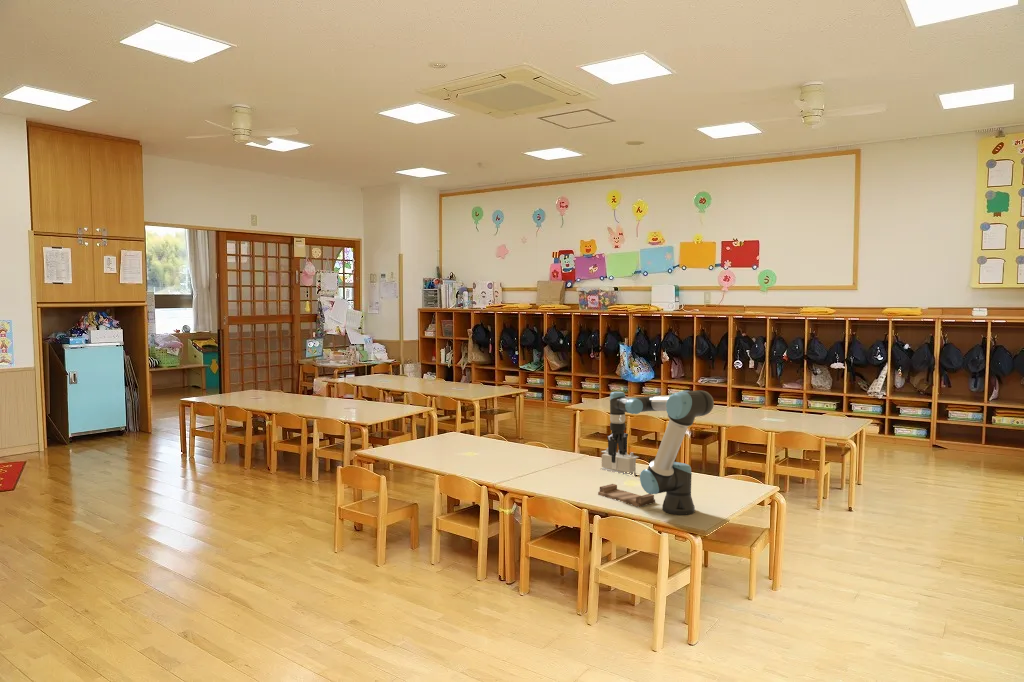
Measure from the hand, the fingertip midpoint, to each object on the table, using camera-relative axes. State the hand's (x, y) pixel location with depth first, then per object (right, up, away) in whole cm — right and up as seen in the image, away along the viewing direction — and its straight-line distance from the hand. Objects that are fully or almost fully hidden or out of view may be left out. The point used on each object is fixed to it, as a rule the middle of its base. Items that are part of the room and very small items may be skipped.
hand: (617, 468), depth 359 cm
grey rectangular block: (0, -1, 0) cm, 1 cm away
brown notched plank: (+5, -16, +3) cm, 17 cm away
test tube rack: (+10, -13, +58) cm, 61 cm away
